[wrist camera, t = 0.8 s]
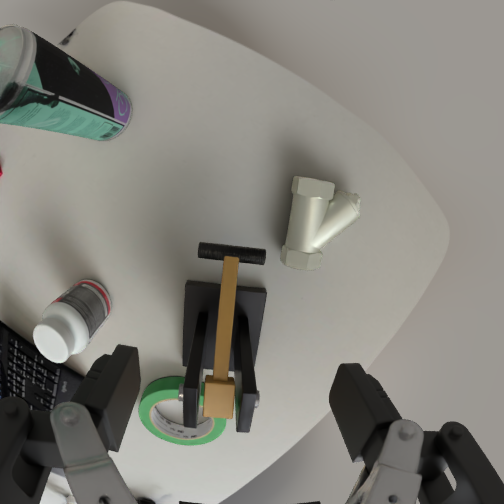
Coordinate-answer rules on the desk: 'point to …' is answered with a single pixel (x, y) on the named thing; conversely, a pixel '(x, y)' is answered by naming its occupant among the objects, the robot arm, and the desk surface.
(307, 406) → the desk surface
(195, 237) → the desk surface
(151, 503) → the walkie-talkie
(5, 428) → the robot arm
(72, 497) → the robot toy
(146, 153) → the desk surface
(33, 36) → the spray can
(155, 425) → the tape roll
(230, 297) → the faucet lever
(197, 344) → the black mounting base
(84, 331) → the pill bottle
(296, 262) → the pipe fitting
